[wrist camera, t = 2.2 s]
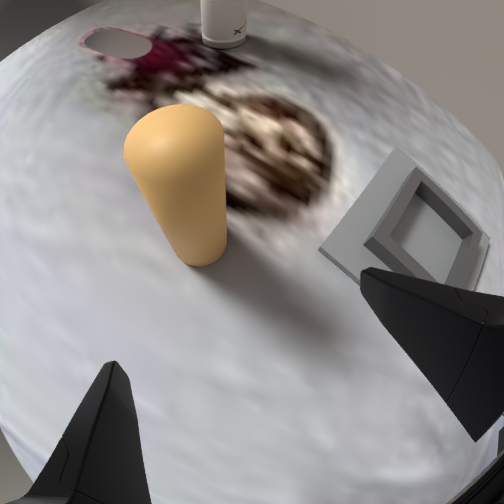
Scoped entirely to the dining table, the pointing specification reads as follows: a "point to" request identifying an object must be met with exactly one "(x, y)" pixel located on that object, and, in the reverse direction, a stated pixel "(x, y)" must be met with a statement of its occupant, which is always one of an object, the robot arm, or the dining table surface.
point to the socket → (408, 229)
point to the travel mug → (224, 22)
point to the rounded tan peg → (183, 178)
